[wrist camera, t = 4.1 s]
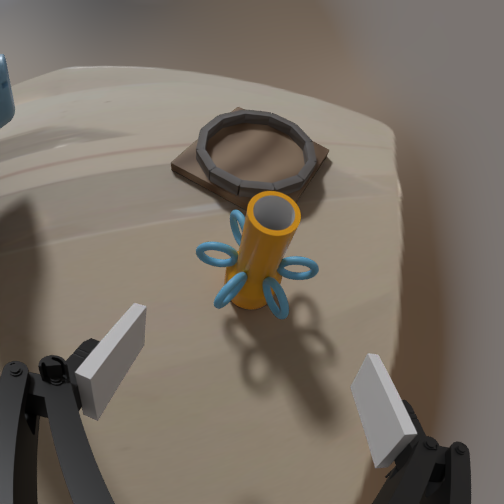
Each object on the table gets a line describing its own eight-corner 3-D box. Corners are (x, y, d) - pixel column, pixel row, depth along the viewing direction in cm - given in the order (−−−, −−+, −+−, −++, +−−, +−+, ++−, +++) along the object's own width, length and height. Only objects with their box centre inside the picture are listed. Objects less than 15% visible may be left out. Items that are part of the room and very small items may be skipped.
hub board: (171, 169, 41) (169, 152, 38) (237, 113, 50) (239, 98, 47) (278, 228, 39) (284, 213, 36) (326, 156, 47) (333, 141, 44)
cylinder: (189, 319, 32) (173, 261, 19) (206, 239, 37) (207, 151, 24) (296, 336, 33) (353, 291, 19) (302, 256, 37) (347, 178, 24)
